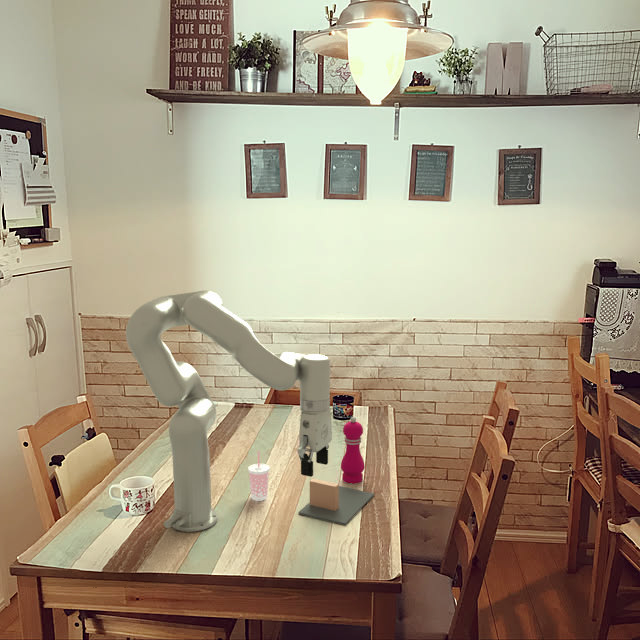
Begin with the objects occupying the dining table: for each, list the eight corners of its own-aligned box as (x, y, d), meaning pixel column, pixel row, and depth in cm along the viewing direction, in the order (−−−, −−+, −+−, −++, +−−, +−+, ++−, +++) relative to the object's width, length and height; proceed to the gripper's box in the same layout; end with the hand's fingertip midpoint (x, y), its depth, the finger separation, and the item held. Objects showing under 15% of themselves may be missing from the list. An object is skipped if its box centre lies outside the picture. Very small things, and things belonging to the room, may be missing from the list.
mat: (345, 525, 173) (345, 523, 173) (298, 514, 179) (298, 512, 179) (374, 495, 191) (374, 493, 191) (330, 485, 197) (330, 484, 197)
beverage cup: (265, 503, 186) (264, 456, 183) (245, 500, 188) (244, 453, 185) (273, 494, 192) (272, 448, 189) (253, 491, 193) (252, 445, 191)
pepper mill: (337, 482, 199) (337, 419, 196) (344, 473, 206) (345, 412, 202) (360, 486, 197) (361, 422, 193) (367, 476, 204) (368, 414, 200)
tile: (335, 510, 180) (335, 486, 179) (309, 504, 184) (309, 481, 182) (338, 507, 182) (338, 484, 181) (313, 501, 185) (313, 478, 184)
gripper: (312, 416, 158) (312, 485, 161) (342, 396, 173) (342, 460, 176) (285, 411, 161) (285, 479, 164) (317, 392, 176) (316, 455, 179)
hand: (314, 468), depth 170 cm, fingers open, 7 cm apart
